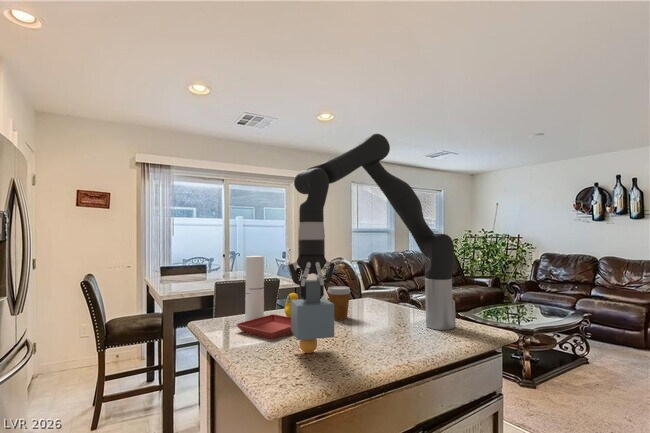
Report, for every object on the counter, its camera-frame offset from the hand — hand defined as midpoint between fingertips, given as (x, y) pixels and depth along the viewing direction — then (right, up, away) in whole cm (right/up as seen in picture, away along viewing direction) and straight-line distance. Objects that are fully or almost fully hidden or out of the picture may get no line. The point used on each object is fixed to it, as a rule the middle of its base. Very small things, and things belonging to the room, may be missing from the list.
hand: (311, 298), depth 99 cm
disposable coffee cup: (+9, -18, +41) cm, 45 cm away
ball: (-1, -13, -1) cm, 13 cm away
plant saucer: (-15, -17, +23) cm, 32 cm away
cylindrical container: (-24, -18, +38) cm, 48 cm away
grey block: (0, -10, -1) cm, 10 cm away
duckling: (-9, -18, +42) cm, 47 cm away
